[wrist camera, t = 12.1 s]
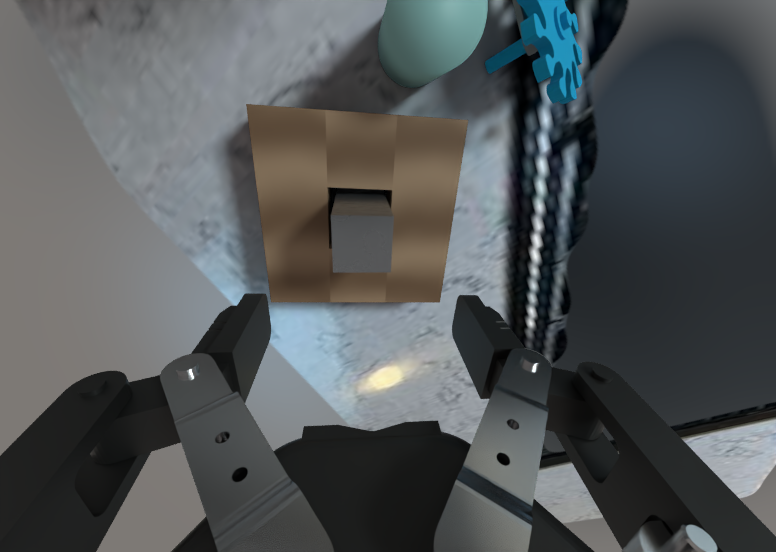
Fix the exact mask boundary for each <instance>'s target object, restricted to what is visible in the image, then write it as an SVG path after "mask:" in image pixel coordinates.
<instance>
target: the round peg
mask: <svg viewBox="0 0 776 552" xmlns="http://www.w3.org/2000/svg"><path fill="white" fill-rule="evenodd" d="M487 11H488V0H387V4H386V8H385V12H384V15H383V19H382V23H381V27H380V31H379V35H378V54H379V58H380V62H381V64H382V66H383V69H384V70H385V72H386V73H387V75H388V76H389V77H390V78H391V79H392V80H393V81H394V82H396V83H397V84H399V85H401V86H404V87H409V88H416V87H420V86H423V85H425V84H427V83H429V82H431V81H433V80H435V79H436V78H438V77H440V76H442V75H443V74H445V73H447V72H449V71H450V70H452V69H454V68H456V67H457V66H459V65H460V64H462V63H463V62H464V61H465V60H466V59H467V58H468V57H469V56H470V55H471V54H472V52H473V51H474V49H475V48H476V46H477V45H478V43H479V41H480V39H481V36H482V34H483V31H484V28H485V24H486V19H487Z"/></svg>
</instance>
